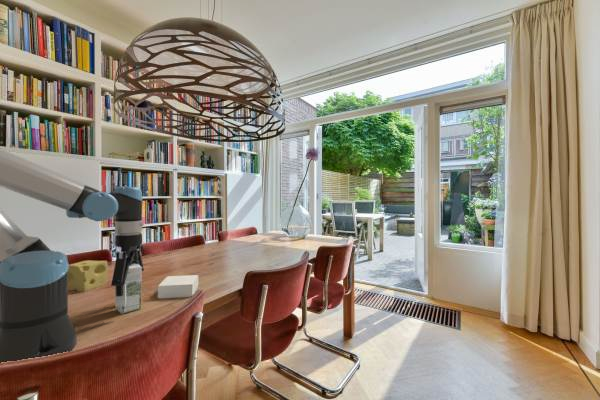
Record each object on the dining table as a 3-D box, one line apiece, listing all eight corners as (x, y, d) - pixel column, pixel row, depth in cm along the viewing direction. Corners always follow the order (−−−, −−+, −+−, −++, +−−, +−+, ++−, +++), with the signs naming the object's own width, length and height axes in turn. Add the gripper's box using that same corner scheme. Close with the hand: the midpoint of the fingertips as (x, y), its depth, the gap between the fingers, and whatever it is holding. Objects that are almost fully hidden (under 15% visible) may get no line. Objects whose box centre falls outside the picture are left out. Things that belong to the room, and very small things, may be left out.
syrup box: (134, 304, 93) (135, 262, 93) (141, 309, 89) (141, 265, 89) (115, 309, 89) (115, 265, 89) (122, 314, 85) (122, 269, 85)
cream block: (192, 297, 101) (192, 284, 101) (157, 299, 99) (157, 285, 99) (198, 286, 113) (198, 275, 113) (167, 288, 111) (167, 276, 111)
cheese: (84, 292, 104) (84, 266, 104) (62, 290, 106) (62, 265, 106) (108, 284, 114) (108, 260, 114) (87, 282, 116) (87, 259, 116)
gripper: (127, 239, 78) (127, 312, 78) (152, 228, 102) (152, 284, 102) (97, 240, 76) (97, 314, 76) (130, 229, 100) (130, 286, 100)
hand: (129, 297), depth 89 cm, fingers open, 13 cm apart
